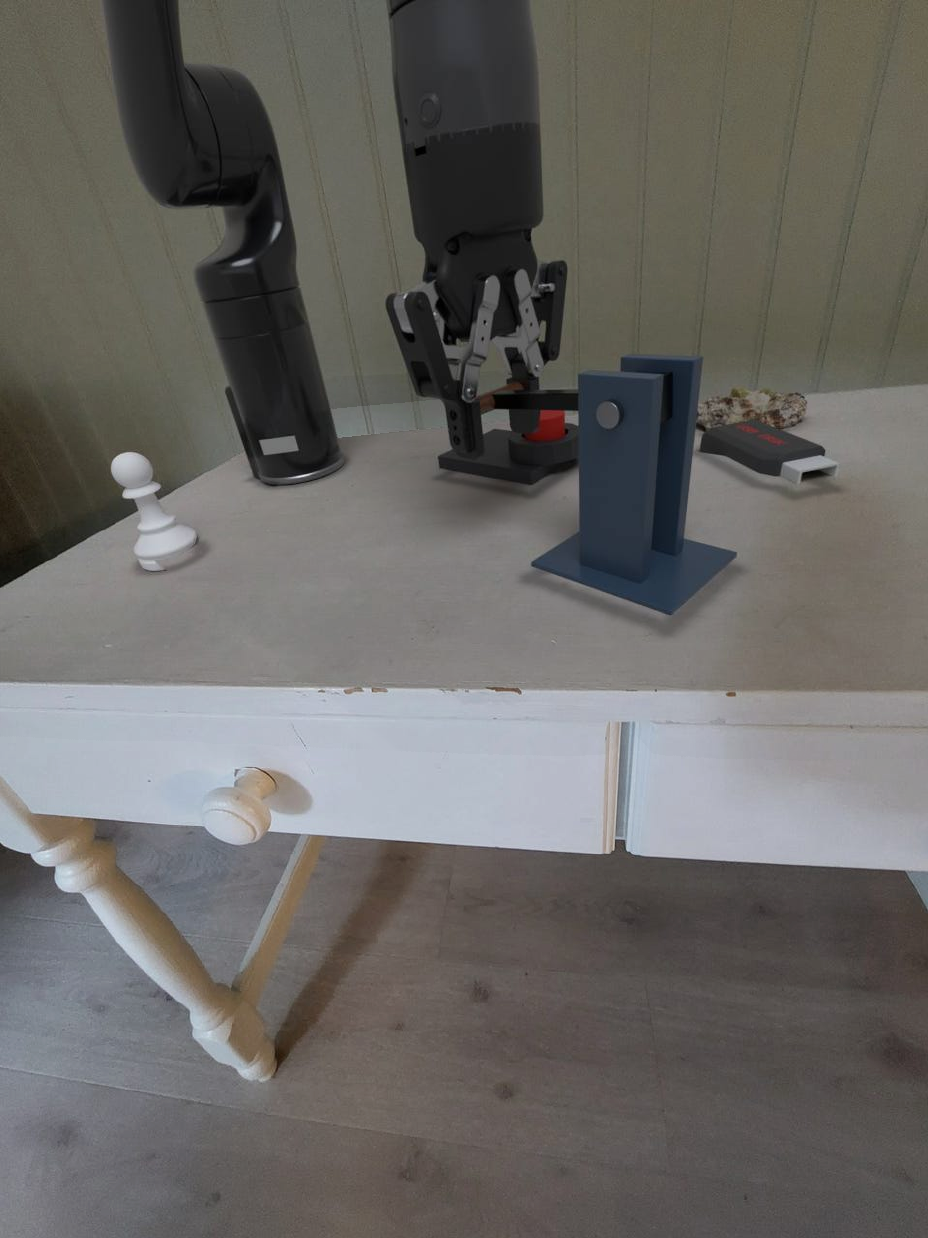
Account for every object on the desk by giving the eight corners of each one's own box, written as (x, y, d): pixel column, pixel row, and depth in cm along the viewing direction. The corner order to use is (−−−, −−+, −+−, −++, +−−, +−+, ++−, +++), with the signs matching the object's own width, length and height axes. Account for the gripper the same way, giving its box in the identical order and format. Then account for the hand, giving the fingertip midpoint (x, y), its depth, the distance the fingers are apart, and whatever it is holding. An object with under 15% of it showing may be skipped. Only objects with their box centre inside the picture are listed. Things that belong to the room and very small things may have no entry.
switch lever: (464, 427, 38) (458, 390, 37) (514, 407, 41) (509, 372, 39) (636, 437, 29) (636, 388, 28) (685, 410, 32) (686, 365, 31)
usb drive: (750, 442, 54) (755, 413, 52) (845, 486, 44) (854, 450, 42) (698, 452, 53) (702, 423, 51) (782, 498, 43) (790, 463, 42)
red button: (517, 440, 51) (515, 417, 50) (539, 428, 53) (538, 406, 52) (550, 445, 49) (549, 421, 48) (573, 432, 51) (572, 409, 50)
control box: (440, 477, 56) (434, 437, 54) (496, 448, 61) (492, 410, 59) (549, 499, 49) (547, 453, 46) (601, 464, 54) (602, 421, 52)
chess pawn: (157, 577, 45) (103, 469, 40) (131, 563, 48) (78, 460, 43) (213, 551, 48) (170, 446, 43) (186, 539, 51) (142, 439, 46)
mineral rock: (709, 419, 53) (691, 376, 58) (699, 458, 57) (683, 414, 62) (830, 410, 52) (801, 368, 57) (813, 451, 56) (787, 407, 61)
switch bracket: (531, 578, 38) (518, 377, 31) (600, 532, 42) (603, 346, 35) (669, 630, 32) (693, 391, 24) (734, 569, 36) (771, 351, 29)
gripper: (506, 142, 37) (524, 411, 46) (320, 148, 29) (386, 469, 39) (606, 114, 32) (602, 421, 41) (413, 113, 24) (463, 489, 34)
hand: (498, 443), depth 40 cm, fingers closed on switch lever, 5 cm apart
